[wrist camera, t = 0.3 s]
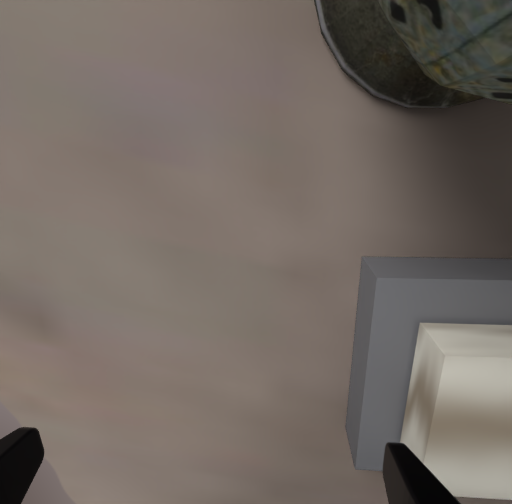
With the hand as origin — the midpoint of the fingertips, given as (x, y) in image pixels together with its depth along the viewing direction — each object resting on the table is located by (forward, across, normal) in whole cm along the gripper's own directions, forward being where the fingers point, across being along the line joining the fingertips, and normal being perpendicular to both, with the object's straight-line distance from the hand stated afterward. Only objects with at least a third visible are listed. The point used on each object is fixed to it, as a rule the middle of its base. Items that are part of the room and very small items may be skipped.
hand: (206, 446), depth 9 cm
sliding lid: (+11, -14, +7) cm, 19 cm away
